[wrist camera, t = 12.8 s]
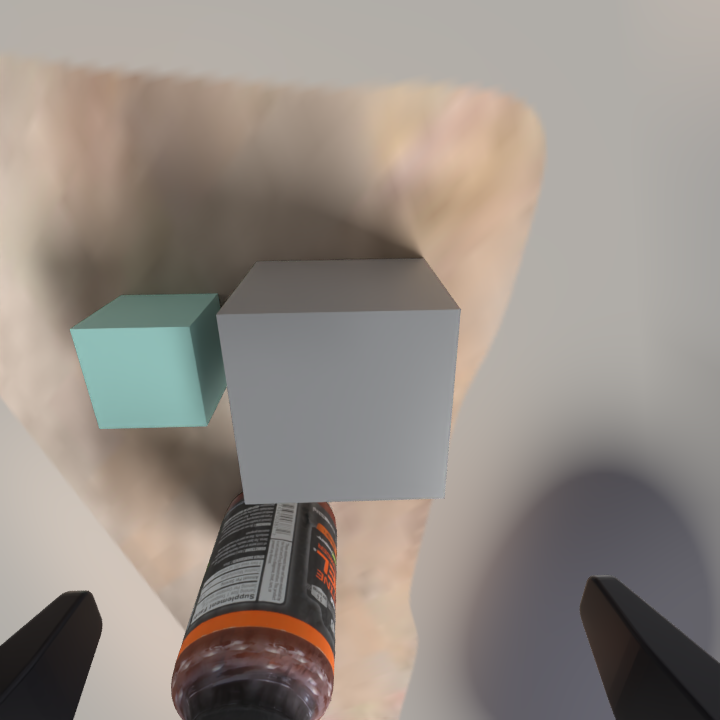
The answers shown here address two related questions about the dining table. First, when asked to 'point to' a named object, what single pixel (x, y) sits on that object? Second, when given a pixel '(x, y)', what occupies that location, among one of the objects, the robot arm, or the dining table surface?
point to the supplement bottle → (263, 618)
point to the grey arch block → (340, 379)
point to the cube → (152, 360)
